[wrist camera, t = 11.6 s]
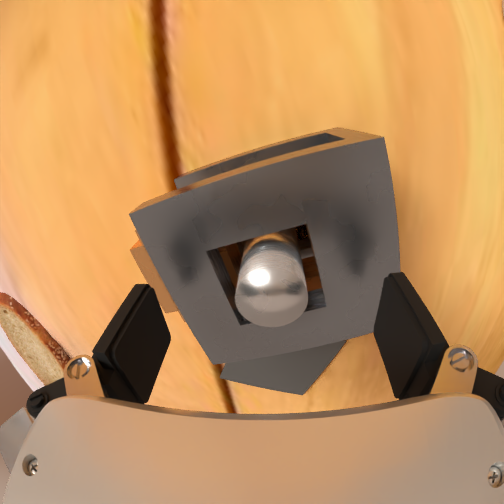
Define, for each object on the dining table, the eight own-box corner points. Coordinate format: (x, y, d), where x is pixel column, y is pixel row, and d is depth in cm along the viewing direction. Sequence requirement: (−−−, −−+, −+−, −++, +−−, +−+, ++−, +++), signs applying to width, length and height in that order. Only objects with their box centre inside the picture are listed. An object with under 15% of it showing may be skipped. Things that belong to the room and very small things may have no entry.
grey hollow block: (337, 127, 16) (383, 137, 9) (363, 255, 20) (399, 324, 13) (146, 188, 19) (86, 233, 12) (197, 296, 23) (171, 368, 16)
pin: (299, 205, 19) (320, 282, 11) (284, 242, 20) (291, 333, 12) (258, 191, 19) (247, 259, 10) (245, 229, 20) (226, 316, 12)
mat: (345, 338, 25) (346, 341, 24) (302, 392, 29) (302, 395, 29) (246, 313, 24) (246, 316, 23) (220, 375, 28) (220, 377, 28)
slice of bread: (-4, 282, 27) (-19, 296, 23) (82, 340, 29) (69, 361, 26) (16, 350, 35) (7, 362, 31) (89, 397, 37) (82, 412, 34)
